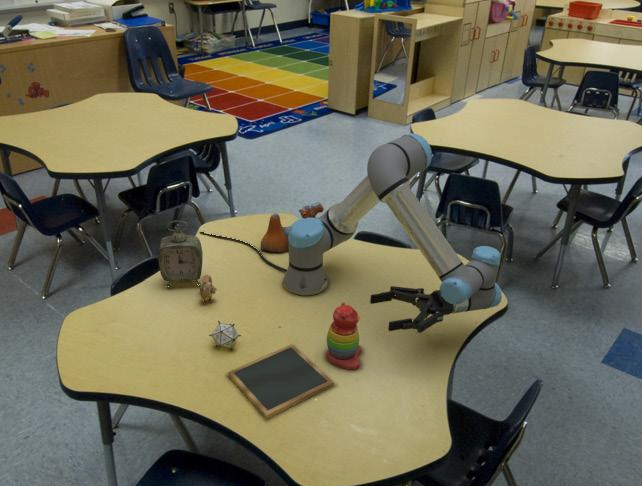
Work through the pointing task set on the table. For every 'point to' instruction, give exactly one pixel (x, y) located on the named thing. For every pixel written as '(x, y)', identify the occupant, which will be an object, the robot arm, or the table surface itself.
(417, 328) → the robot arm
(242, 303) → the table surface
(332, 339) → the stacking bear
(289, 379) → the chalkboard
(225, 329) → the game die
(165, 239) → the tabletop clock
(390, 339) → the table surface
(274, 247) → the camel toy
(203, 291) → the lion figurine
